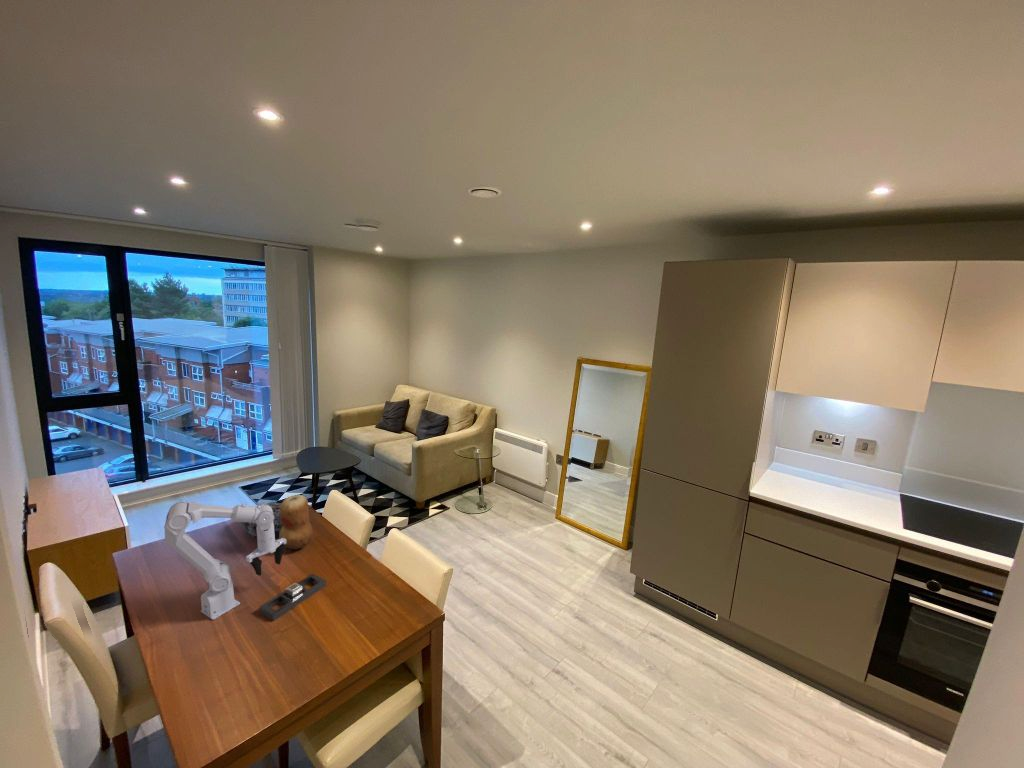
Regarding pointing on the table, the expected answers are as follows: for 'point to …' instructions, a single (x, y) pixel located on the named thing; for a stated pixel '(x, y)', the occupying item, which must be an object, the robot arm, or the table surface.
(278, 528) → the decorative bowl
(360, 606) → the table surface
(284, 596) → the rack rail
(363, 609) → the table surface
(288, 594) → the block
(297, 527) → the butternut squash
